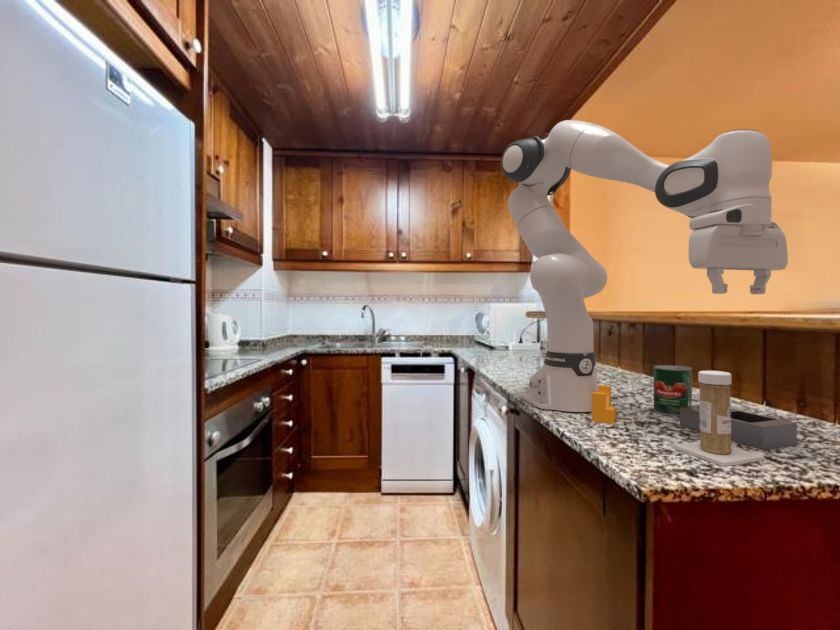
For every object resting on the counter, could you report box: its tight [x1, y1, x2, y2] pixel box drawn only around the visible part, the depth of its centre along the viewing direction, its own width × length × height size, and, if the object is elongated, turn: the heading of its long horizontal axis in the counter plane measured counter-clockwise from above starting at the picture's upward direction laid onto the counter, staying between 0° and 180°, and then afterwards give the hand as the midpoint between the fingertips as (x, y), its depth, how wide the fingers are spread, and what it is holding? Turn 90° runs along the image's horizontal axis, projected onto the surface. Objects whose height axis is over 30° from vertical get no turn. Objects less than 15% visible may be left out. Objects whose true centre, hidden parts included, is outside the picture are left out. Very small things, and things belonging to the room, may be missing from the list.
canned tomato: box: [653, 364, 693, 417], centre depth 96 cm, size 8×8×11 cm
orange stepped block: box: [591, 384, 617, 425], centre depth 93 cm, size 12×4×6 cm, turn 149°
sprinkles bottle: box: [697, 370, 733, 454], centre depth 68 cm, size 5×5×14 cm
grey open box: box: [679, 404, 798, 451], centre depth 79 cm, size 16×9×4 cm, turn 17°
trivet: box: [671, 440, 766, 468], centre depth 68 cm, size 9×9×1 cm
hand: (738, 294), depth 74 cm, fingers open, 8 cm apart
